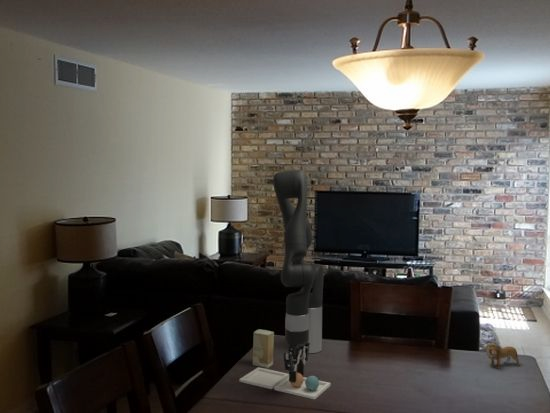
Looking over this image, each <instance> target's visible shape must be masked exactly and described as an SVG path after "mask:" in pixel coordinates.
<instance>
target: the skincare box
mask: <svg viewBox="0 0 550 413" xmlns="http://www.w3.org/2000/svg"><path fill="white" fill-rule="evenodd" d="M252 340H253V344H252V365H253V366H257V367H260V368H265V369H269V368H270V367H271V366H273V365H274V345H275V344H274V342H275V332H274V331H270V330H267V329H260V328H259V329H256V330H255V331H253V338H252Z"/></svg>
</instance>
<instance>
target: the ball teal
mask: <svg viewBox="0 0 550 413" xmlns="http://www.w3.org/2000/svg"><path fill="white" fill-rule="evenodd" d="M306 378H307V379H306V381H305V385H306V387H307V388H308V389H309V390H316V389H317V388H318V386H319V381H320V380H319V378H318V377H317V376H315V375H309V376H308V377H306Z"/></svg>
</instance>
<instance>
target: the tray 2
mask: <svg viewBox="0 0 550 413" xmlns="http://www.w3.org/2000/svg"><path fill="white" fill-rule="evenodd" d="M307 378H308V377H304V376H303V383H302V385H301V386H299V387H294V386H293V385H292V384H291V383H290V381H289V377H288V378H286V379H285V380H284V381H282V382H281V383H280V384H278V385H277V386H275V387H274V388H273V390H274V391H277V392H280V393H286V394H289V395H294V396H297V397H303V398H306V399H311V400H316V399H317V398H319V397H320V396H321V395H322V394H323V393H324V392H325V391H326V390H328V389H329V388H330V387H331V385H332V384H331V382H329V381H328V382H327V381H323V380H319V386H318V388H317V389H316V390H309V389H308V388H307V387H306V385H305V381H306V379H307Z"/></svg>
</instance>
